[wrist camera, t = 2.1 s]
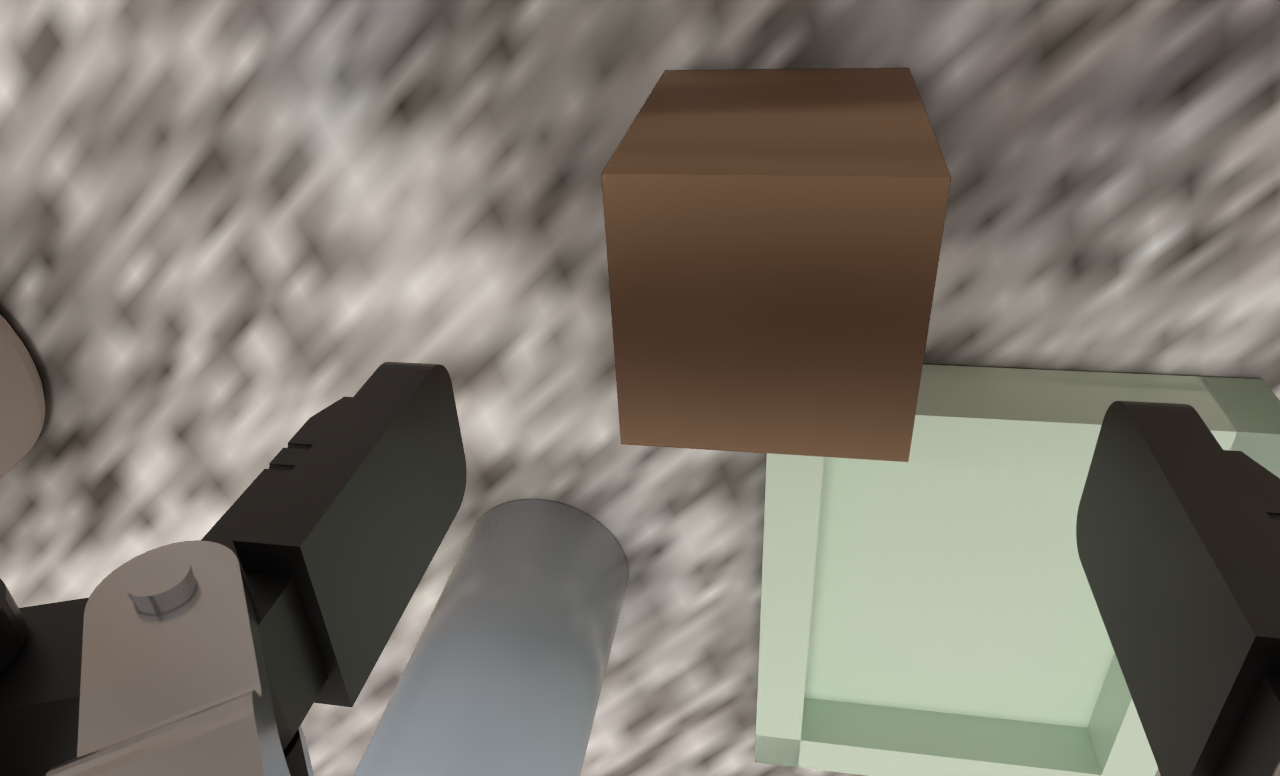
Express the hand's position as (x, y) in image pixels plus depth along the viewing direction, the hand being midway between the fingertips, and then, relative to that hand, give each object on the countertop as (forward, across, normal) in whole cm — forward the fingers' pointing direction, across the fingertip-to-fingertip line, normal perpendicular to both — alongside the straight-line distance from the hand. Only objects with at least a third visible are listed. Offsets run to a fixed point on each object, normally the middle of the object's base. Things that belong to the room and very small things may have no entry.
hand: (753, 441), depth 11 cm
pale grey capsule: (+8, +6, +10) cm, 15 cm away
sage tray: (+8, -5, +9) cm, 14 cm away
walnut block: (+8, 0, -1) cm, 8 cm away
